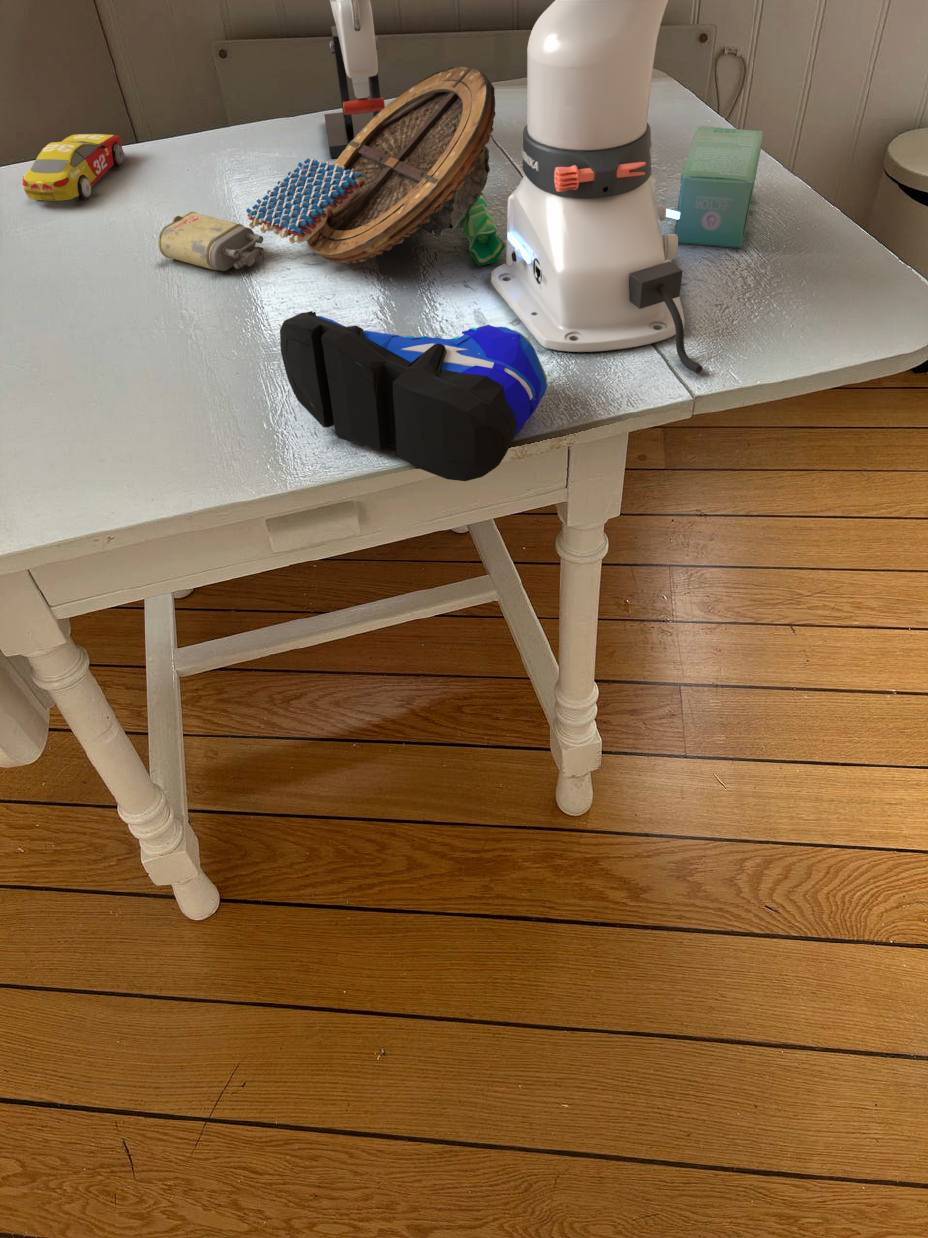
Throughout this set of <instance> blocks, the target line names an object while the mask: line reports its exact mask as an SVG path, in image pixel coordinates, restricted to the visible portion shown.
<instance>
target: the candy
mask: <svg viewBox="0 0 928 1238" xmlns="http://www.w3.org/2000/svg"><path fill="white" fill-rule="evenodd" d="M487 202H488V201H487V198H486V196H485V195H484V194H483V191H482V192H481V196H480V198H479V199H478V200H477V202H475V203H474V204H473V205H472V206H471V209H470V210H469V212H468V213H467V214H466V216H465V218H462V219H461V221H460V223H459V224H460V226H461V229H462V232H463V235H464V236H465V238H466V239H467V240H468V242H469V244H468V253H469V256H470V257H471V258H472V259H473V261H474V262H475V263H476V264H477V266H478V267H481V266H485V265H491V264H496V263H497V262H498V260H499V259H500V257H501V255H502V253H503V251H504V249H505V247H506V245H505V244H504V243H503V241H502V239H501V238H500V237H499V235H498V234H497V233H498V228H497V226H496V223H495V221H494V219H493V215H492V214H491V213H490V211H489V210H488V209H487V207H488V203H487Z"/></svg>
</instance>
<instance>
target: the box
mask: <svg viewBox="0 0 928 1238" xmlns="http://www.w3.org/2000/svg"><path fill="white" fill-rule="evenodd" d="M763 139H764V136H763V130H755V129H742V128H741V129H739V128H727V127H714V126H698V127H697V128H696V130H695V132H694V136H693V139H692V142H691V146H690V149H689V151H688V154H687V158H686V161H685V164H684V166H683V167H684V168H683V170H682V173H681V174H680V175H681V176H680V189H679V196H678V204H677V210H676V211H677V212H680V218H679V219H675V227H674V234H675V235H677V236H678V244H683V245H693V246H695V245H696V246H708V247H709V246H710V247H718V248H719V247H721V248H730V249H742V246H743V244H744V240H745V235H746V230H747V225H748V220H749V215H750V209H751V204H752V200H753V195H754V194H753V193H754V188H755V183H756V177H757V172H758V166H759V161H760V155H761V151H762V145H763Z"/></svg>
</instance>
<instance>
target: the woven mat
mask: <svg viewBox="0 0 928 1238" xmlns="http://www.w3.org/2000/svg"><path fill="white" fill-rule="evenodd" d="M333 164H334V163H330V162H329V161H326V162H324V161H323V162H321V159H318V160H317V159H315V158H313V157H311V158H308V157H307V158H306V159H305V160H304V161H303V163H302V162H298V164H297V166H298V167H296V168H295V169H294V170H293V172H291V171H289V172H288V173H287V175H288V176H286V177H285V178H284V179H283V181H281V180H279V181H277V185H275V187H274V188H273V189H272V191H271V190H270V189H268V190H267V191H266V195H265V196H263V198H262V200H261V199H260V198H257V200H256V203H257V204H254V205H253V206H252V207H251V208H252V209H253V210H252V209H250V208H246V210H245V211H246V213H247V216H246V217H248V218H247V220H249V221H250V222H249V224H248V226H249V228H250V229H251V230H252V229H254V228H256V227H259V226H260V227H259V230H260V232H261V233H263V234H265V233H266V232H273V233H274V234H275V235H277V236H279V237H280V238H282V239H284V238H288V237H289V238H288V242H289V243H290V244H295V243H304V242H307V240H308V239H309V238H310V237H311V236H312V235H314V234H315V233H316V232H317V231H318V230H319V229H320V228H321V227H322V226H324V224H325V222H326V220H327V216H330V215H332V213H335V212H338V211H340V210H341V209H342V208H343V207H344V206H345V205H346V204H347V203H348V202H349V201H350V200H351V199H352V198H353V197H354V196H355V195H356V194H357V193H358V192H359V188H361V187H362V186H364V184H365V181H366V179H365V178H363V177H361V174H360V173H358V172H354V169H352V171H351V170H344V169H345V167H344V166H343V168H342V167H338V165H335V167H334V166H333ZM356 177H357V178H356ZM345 193H348V194H345ZM341 197H342V199H341ZM314 222H316V223H315V224H314ZM309 227H310V228H309Z"/></svg>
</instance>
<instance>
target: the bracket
mask: <svg viewBox="0 0 928 1238" xmlns="http://www.w3.org/2000/svg"><path fill="white" fill-rule="evenodd" d="M330 28H331V37H332V40H330V41H329V50H330V55H334V58H335V59H334V60H335V65H336V73H337V81H338V88H339V94H340V102H341V108H342V109H341V110H342V111H341V112H334V113H333V112H332V113H325V114H324V121H325V122H324V123H325V129H326V136H327V143H328V148H329V151H328V152H329V157H330V159H331V160H332V159H338V158H339V156H340V155H341V153H342V152H343V151H344V149H345V148H346V147H347V146H348V145H349V143H350V142H351V141H352V140H353V139H354V138H355V137H356V136H357V135H358V133H359V132H360V131H361V130H362V129H363V128H364V127H365V126H366V125H367V124H368V123H369V122H370V121H371V120H372V119H373V118H374V117H375V116H376V115H377V114H378V113H379V112H380V111H378V112H369V113H360V114H351V115H345V114H344V107H343V102H346V101H351V100H350V93H349V86H348V78H347V77H348V76H347V74H346V70H345V66H344V61H343V56H342V51H341V46H340V41H339V37H338V32H337V27H336V25H331V26H330ZM378 40H379V39H378V36H375V41H376V50H379V41H378ZM368 83H369V92H370V99H373V98H381V91H380V90H381V89H380V81H379V72H378V73H377V75H375V76H371V77H368Z"/></svg>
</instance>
